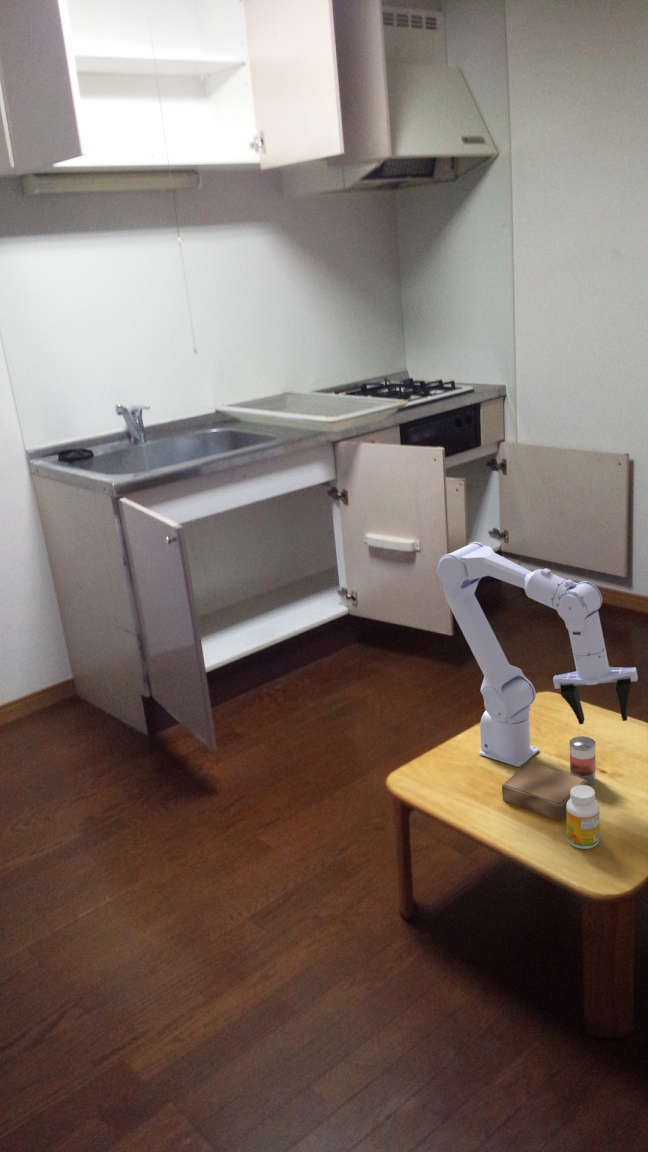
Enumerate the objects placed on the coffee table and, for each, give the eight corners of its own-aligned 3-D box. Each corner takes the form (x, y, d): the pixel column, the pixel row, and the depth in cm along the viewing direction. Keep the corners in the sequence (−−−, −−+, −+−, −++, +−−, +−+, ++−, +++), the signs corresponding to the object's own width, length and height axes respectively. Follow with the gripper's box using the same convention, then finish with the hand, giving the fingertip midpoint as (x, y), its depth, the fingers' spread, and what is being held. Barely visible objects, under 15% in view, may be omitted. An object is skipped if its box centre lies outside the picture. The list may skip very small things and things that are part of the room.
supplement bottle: (562, 833, 156) (561, 784, 153) (592, 828, 156) (592, 780, 153) (573, 851, 151) (572, 802, 148) (604, 847, 151) (604, 797, 148)
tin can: (565, 781, 171) (564, 744, 168) (577, 770, 174) (576, 734, 172) (588, 789, 168) (588, 751, 165) (600, 777, 171) (599, 740, 168)
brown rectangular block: (502, 799, 168) (501, 785, 167) (530, 775, 174) (529, 761, 173) (561, 820, 160) (560, 805, 159) (587, 794, 166) (587, 779, 165)
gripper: (545, 662, 161) (560, 732, 163) (629, 653, 155) (643, 726, 157) (551, 649, 167) (565, 716, 170) (632, 640, 161) (645, 710, 163)
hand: (603, 720), depth 164 cm, fingers open, 7 cm apart
